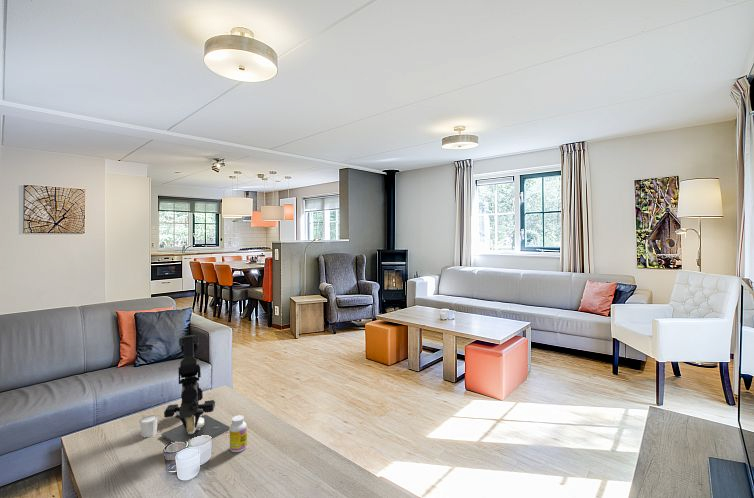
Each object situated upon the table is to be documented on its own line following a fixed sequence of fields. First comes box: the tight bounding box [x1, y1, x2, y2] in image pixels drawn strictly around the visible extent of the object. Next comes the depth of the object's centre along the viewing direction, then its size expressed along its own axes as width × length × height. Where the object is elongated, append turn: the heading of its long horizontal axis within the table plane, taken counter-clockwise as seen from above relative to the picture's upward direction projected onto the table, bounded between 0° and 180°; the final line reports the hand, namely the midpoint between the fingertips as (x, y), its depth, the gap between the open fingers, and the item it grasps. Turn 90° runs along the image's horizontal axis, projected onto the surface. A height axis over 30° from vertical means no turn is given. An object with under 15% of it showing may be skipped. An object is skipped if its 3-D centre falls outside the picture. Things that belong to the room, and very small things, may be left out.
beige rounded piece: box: [186, 415, 204, 434], centre depth 160 cm, size 12×7×8 cm, turn 11°
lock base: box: [161, 414, 230, 444], centre depth 162 cm, size 20×20×3 cm
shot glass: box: [139, 414, 158, 439], centre depth 162 cm, size 7×7×7 cm
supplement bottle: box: [228, 414, 248, 453], centre depth 150 cm, size 7×7×13 cm
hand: (191, 427), depth 155 cm, fingers open, 3 cm apart
